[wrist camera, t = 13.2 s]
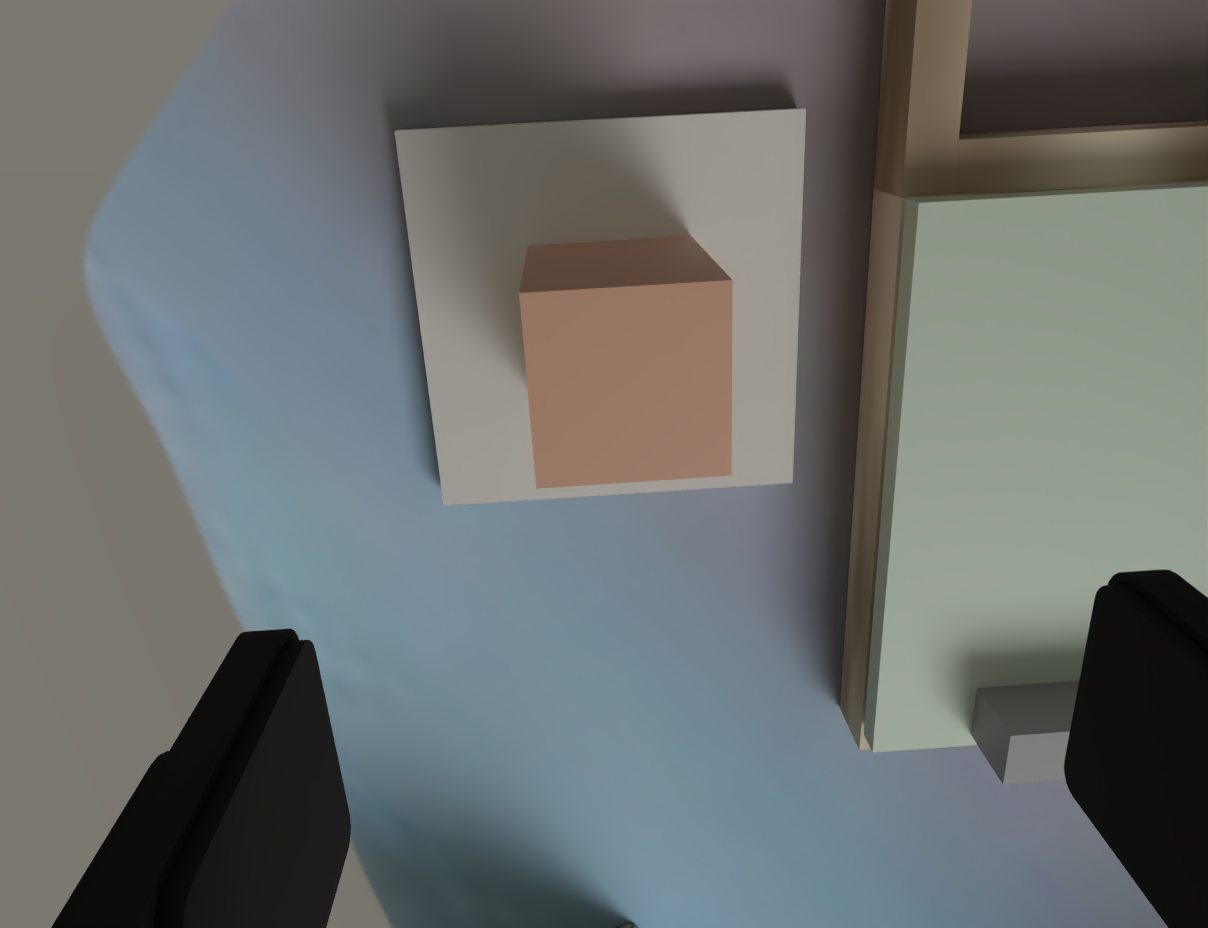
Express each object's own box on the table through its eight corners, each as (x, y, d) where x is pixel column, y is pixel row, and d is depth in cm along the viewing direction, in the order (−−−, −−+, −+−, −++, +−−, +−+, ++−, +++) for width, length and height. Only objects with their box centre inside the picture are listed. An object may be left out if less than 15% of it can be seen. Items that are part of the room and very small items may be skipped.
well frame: (1718, -688, 21) (1861, -783, 19) (1302, 674, 36) (1353, 713, 34) (929, -662, 21) (975, -757, 18) (840, 707, 36) (859, 750, 33)
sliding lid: (1551, 162, 26) (1692, 171, 23) (1367, 697, 33) (1454, 762, 30) (905, 198, 25) (956, 214, 22) (863, 733, 33) (897, 803, 30)
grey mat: (797, 108, 27) (806, 108, 26) (785, 471, 32) (792, 482, 31) (400, 129, 27) (394, 131, 26) (446, 493, 31) (443, 505, 30)
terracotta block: (691, 235, 27) (732, 280, 21) (693, 391, 29) (731, 475, 23) (527, 245, 27) (518, 292, 21) (540, 400, 29) (536, 488, 23)
